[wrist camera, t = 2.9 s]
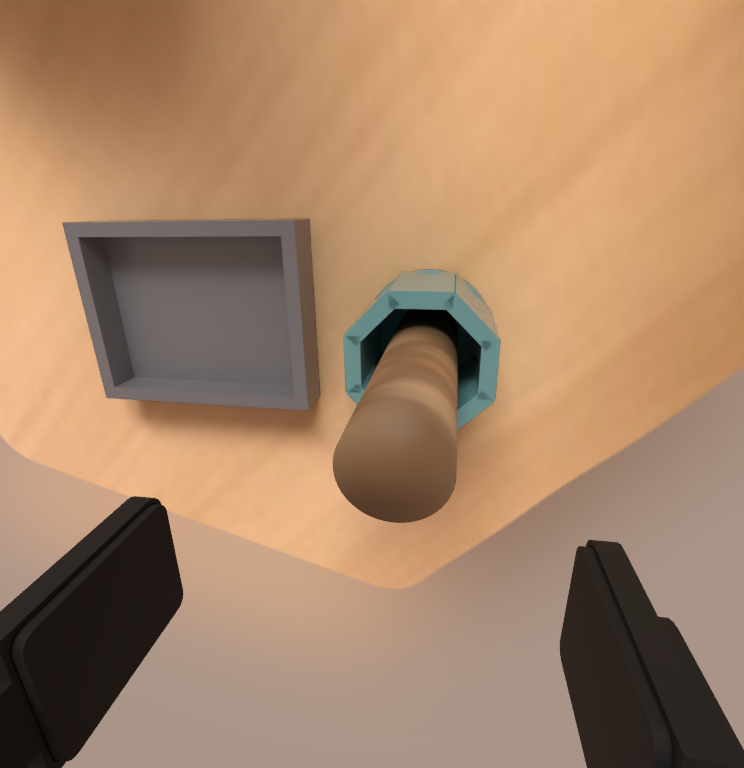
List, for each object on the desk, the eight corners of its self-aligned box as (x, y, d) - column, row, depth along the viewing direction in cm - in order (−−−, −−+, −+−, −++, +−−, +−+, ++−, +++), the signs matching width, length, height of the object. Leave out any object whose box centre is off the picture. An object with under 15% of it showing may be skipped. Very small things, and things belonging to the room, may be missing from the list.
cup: (496, 269, 25) (507, 290, 19) (486, 392, 28) (493, 442, 22) (366, 268, 27) (339, 287, 21) (368, 385, 29) (345, 432, 23)
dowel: (459, 304, 26) (459, 419, 12) (456, 364, 27) (453, 528, 13) (397, 303, 26) (329, 411, 13) (397, 361, 28) (335, 516, 14)
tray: (309, 218, 26) (294, 219, 24) (320, 394, 30) (308, 410, 28) (95, 221, 28) (62, 222, 26) (132, 383, 33) (106, 397, 30)
